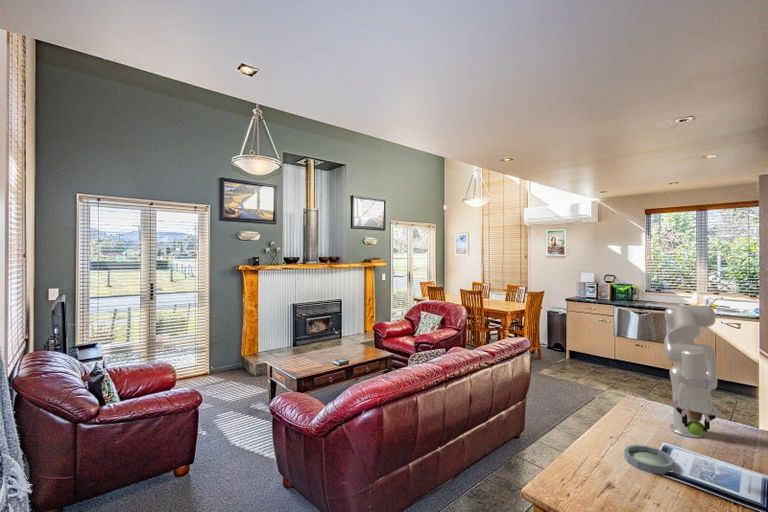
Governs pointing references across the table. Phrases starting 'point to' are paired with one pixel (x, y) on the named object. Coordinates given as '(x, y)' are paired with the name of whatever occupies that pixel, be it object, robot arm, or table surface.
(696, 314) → the robot arm
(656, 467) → the ring dish
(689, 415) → the snail figurine
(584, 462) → the table surface
